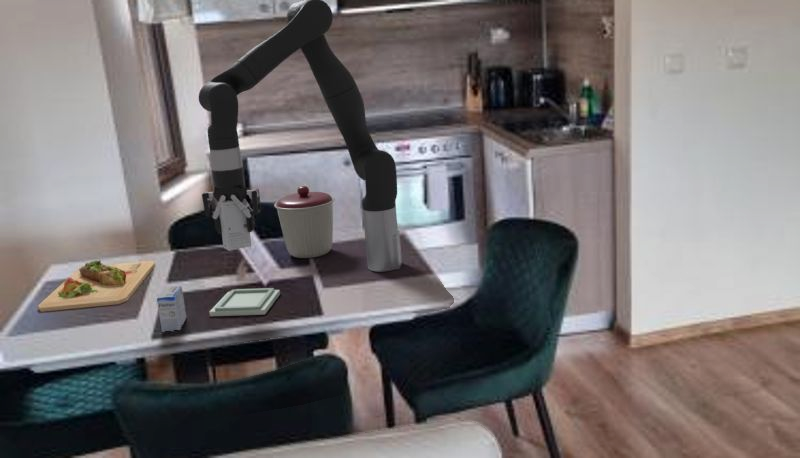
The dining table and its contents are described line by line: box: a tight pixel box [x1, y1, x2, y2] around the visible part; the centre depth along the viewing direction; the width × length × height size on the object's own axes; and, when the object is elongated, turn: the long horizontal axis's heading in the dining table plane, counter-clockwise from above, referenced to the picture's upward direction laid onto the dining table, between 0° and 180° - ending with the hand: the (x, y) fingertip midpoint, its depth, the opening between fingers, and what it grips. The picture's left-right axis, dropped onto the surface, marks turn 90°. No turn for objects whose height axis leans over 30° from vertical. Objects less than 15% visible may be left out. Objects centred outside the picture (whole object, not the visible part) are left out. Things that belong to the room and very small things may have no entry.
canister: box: [273, 185, 336, 259], centre depth 229 cm, size 18×18×21 cm
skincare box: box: [219, 198, 252, 252], centre depth 187 cm, size 6×4×12 cm
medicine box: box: [156, 285, 187, 333], centre depth 182 cm, size 8×4×9 cm, turn 5°
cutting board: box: [37, 259, 156, 313], centre depth 217 cm, size 35×23×8 cm
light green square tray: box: [208, 287, 281, 317], centre depth 192 cm, size 14×14×2 cm
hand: (235, 232), depth 188 cm, fingers closed on skincare box, 7 cm apart
